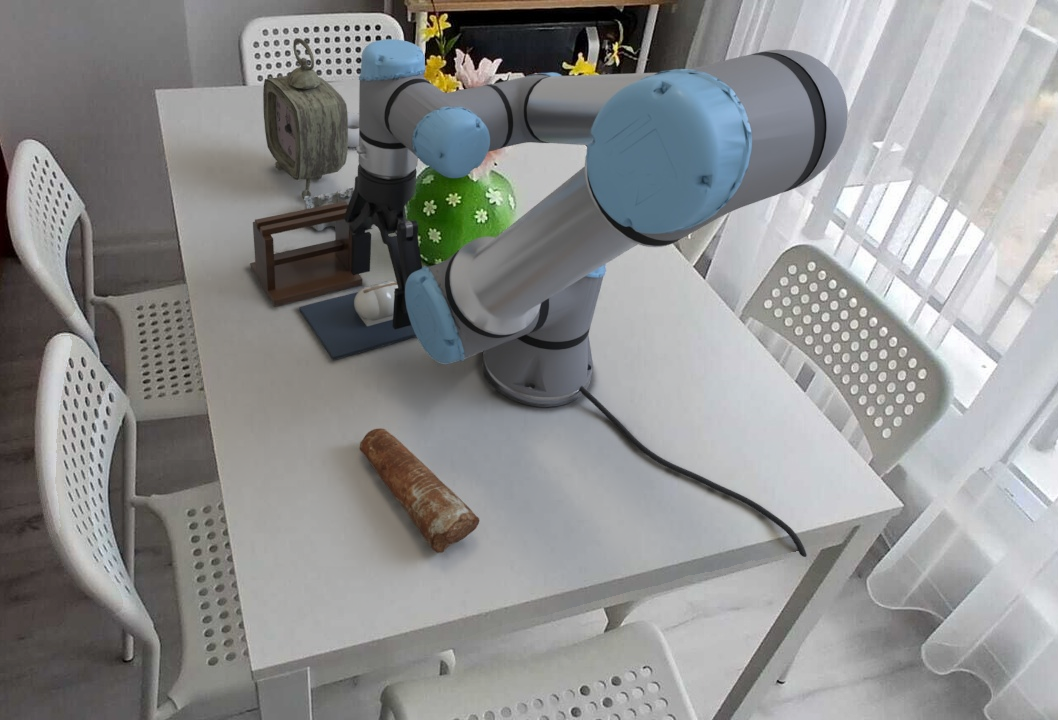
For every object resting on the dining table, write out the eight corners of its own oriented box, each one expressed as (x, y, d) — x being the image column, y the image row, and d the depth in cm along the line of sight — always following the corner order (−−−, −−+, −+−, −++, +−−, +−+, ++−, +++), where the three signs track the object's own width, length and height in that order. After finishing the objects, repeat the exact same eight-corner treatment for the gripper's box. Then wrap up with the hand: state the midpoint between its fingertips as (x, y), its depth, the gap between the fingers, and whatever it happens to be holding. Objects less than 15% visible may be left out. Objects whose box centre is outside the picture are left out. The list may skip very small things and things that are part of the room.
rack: (362, 285, 136) (364, 223, 128) (274, 307, 129) (271, 243, 122) (335, 249, 142) (335, 189, 134) (250, 269, 136) (246, 206, 128)
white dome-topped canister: (412, 317, 130) (415, 289, 127) (362, 331, 126) (363, 303, 123) (397, 298, 133) (399, 270, 130) (347, 311, 129) (348, 283, 126)
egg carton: (367, 206, 152) (368, 185, 150) (372, 231, 147) (373, 209, 144) (303, 207, 150) (303, 185, 147) (306, 232, 145) (306, 210, 142)
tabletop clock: (266, 166, 159) (259, 27, 142) (312, 157, 163) (311, 20, 146) (301, 207, 150) (298, 63, 134) (349, 196, 154) (352, 55, 138)
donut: (356, 156, 165) (388, 136, 171) (356, 139, 163) (389, 120, 169) (314, 138, 168) (347, 119, 175) (313, 121, 166) (347, 103, 173)
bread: (434, 566, 98) (438, 534, 95) (351, 453, 110) (351, 421, 106) (481, 543, 101) (486, 511, 98) (395, 435, 113) (397, 403, 109)
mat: (459, 324, 131) (459, 321, 130) (333, 360, 122) (333, 357, 122) (421, 279, 138) (421, 275, 138) (299, 310, 129) (299, 306, 129)
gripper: (321, 126, 120) (321, 256, 134) (406, 221, 105) (396, 357, 118) (371, 118, 123) (366, 246, 137) (461, 209, 108) (445, 343, 122)
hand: (380, 298), depth 128 cm, fingers open, 13 cm apart
